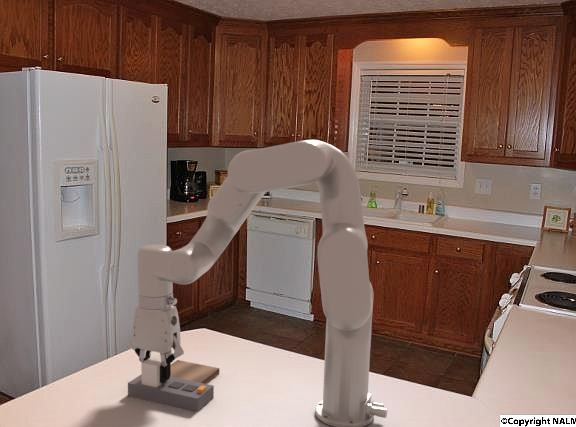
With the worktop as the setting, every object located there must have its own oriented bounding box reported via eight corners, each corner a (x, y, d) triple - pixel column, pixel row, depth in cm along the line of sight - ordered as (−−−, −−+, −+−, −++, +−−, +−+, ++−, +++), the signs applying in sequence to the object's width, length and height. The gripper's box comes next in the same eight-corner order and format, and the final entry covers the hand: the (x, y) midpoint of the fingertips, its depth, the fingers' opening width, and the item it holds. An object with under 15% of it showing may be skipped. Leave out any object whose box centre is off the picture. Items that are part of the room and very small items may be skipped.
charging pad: (219, 374, 142) (219, 368, 142) (198, 390, 133) (198, 384, 133) (177, 365, 147) (177, 359, 146) (154, 380, 137) (154, 374, 137)
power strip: (213, 398, 129) (213, 382, 129) (197, 411, 123) (197, 395, 122) (146, 383, 136) (146, 368, 135) (127, 395, 129) (127, 379, 129)
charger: (170, 384, 132) (170, 357, 131) (156, 393, 127) (156, 366, 126) (155, 380, 134) (155, 354, 133) (141, 390, 129) (141, 362, 128)
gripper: (197, 301, 128) (196, 379, 131) (134, 291, 134) (135, 366, 137) (178, 310, 121) (178, 392, 124) (113, 300, 127) (115, 378, 130)
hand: (156, 378), depth 130 cm, fingers closed on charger, 3 cm apart
